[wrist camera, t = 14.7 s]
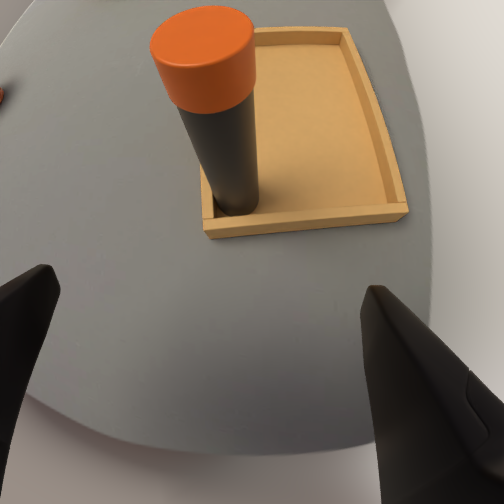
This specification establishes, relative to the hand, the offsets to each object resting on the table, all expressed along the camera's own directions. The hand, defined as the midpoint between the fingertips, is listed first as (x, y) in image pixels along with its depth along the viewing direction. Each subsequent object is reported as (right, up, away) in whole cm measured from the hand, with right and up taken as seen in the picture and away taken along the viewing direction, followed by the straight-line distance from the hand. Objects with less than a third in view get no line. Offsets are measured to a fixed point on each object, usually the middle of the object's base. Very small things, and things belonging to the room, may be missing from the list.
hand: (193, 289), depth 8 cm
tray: (+4, +10, +11) cm, 15 cm away
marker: (+1, +4, +10) cm, 11 cm away
